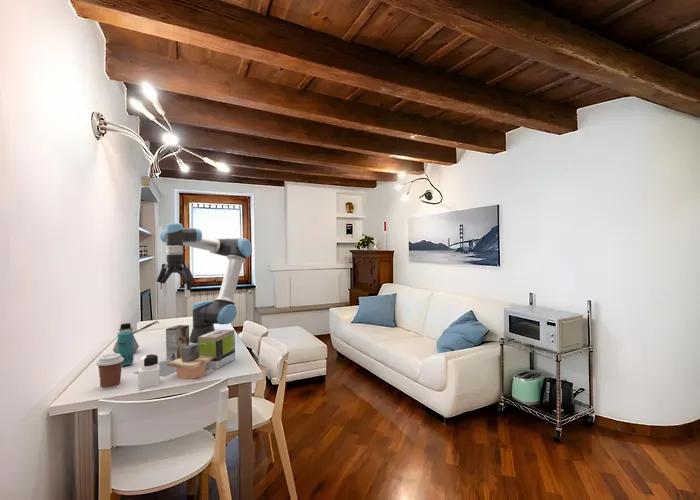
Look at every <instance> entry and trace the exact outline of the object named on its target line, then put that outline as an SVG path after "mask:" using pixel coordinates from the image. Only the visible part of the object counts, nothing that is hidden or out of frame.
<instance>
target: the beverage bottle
mask: <svg viewBox="0 0 700 500" xmlns="http://www.w3.org/2000/svg"><path fill="white" fill-rule="evenodd" d="M128 328H132V325H131V322H130V323H129V322H126V323H122V324H120V326H119V329H128ZM133 332H134V331H133V330H132V331H131V330H124V331H119V332H118V333H117V339H118V351H117V353H118V354H121V356H122V357H123V358H124V361H123V362H122V366H127V365H131V364H133V363H134V353H133V346H134V345H133V336H134V334H133Z"/></svg>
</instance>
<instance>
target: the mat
mask: <svg viewBox="0 0 700 500" xmlns="http://www.w3.org/2000/svg"><path fill="white" fill-rule="evenodd" d="M169 362H171V361H166V360H162V361H160V362H158V364H159V365H160V377H165V378H166V377H168V376H170V375H172V374H174V373H177V367H170V366H167V363H169ZM138 372H139V370H138V371H135V372H133V374H137V375H138Z"/></svg>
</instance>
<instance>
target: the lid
mask: <svg viewBox="0 0 700 500" xmlns="http://www.w3.org/2000/svg"><path fill="white" fill-rule="evenodd" d="M212 359H214V356H204V355H199V344H198V343H193V342H192V343H191V344H189V345H188V346H185V347H183V348H182V357H181V358H179V359H176V360H174V361H170V362H169V363H167V366H170V367H181V368H191V369H194V368H196V367H198V366H200V365H202V364H204V363H206V362H208V361H210V360H212Z"/></svg>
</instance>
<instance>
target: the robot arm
mask: <svg viewBox="0 0 700 500" xmlns="http://www.w3.org/2000/svg"><path fill="white" fill-rule="evenodd" d="M159 236H160V237H159V238H160V241H162V242H163V243H166V244H165V245H166V249H165V250H166V262H167V263H162V264H161V269H160V271H159V275H158V277H157V279H156V283H160V290H161V297H166V296H167V297H168V283H167V281H168V279H169V278H170V277H171V275H172V274H178V275H179V276H180V277H181V278H182V280H183V281H184V282H185V283H184V297H185V298H188V297H191V290H192V283H194V282H196V281H195V278H194V277H193V273H192V272H191V271H192V270H191V269H190V265H189V263H183V262H184V246H187V247H191V248H195V249H199V250H205V251H208V252H209V253H211V254H215V255H218V256H219V255H220V256H223V257H226V258H227V259H228V260H227V264H226V266H225V267H226V268H225V271H224V275H223V279H222V282H221V286H220V289H219V294H218V297H216V298H214V300H204V301H199V302H195V303H193V305H192V311H191V312H192V330H191V333H190V335H189V343H192V344H193V343H194V344H198V337H199V336H202V335H204V334H207V333H209V332H212V331H215V330H216V329H215V326H214V325H216V324H217V325H221V326H222V325H229V324H231V323H233V322H234V320H235V319H236V317H237V313H238V311H237V310H238V309H237V306H236V305H235V304H236V303H235V301H234V298H235V297H234V296H235V293H236V289H237V286H238V282H239V278H240V274H241V270H242V266H243V264H244V263H246V260H247V258H249V257H250V256H251V255H252V254H253V253H252V252H253V245H252V243H251V241H250V240H249V239H248V238H245V237H244V238H243V237H239V238H237V237H236V238H215V237H213V238H210V237H206V236H203V232H202V231H201V229H199V228H196V227H194V228H193V227H191V228H190V227H183V224H182V223H180V222H179V223H175V222H174V223H173V222H172V223H167V224H166V226H165V228H164V229H162V230H161V231H160V235H159Z"/></svg>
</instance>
